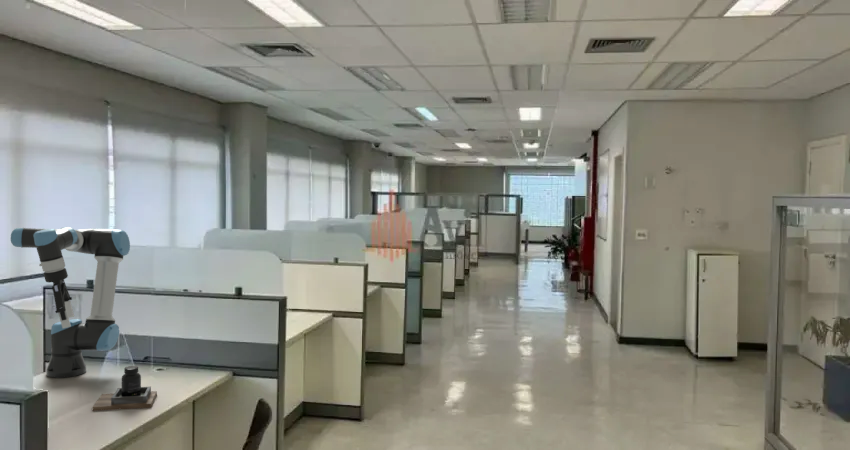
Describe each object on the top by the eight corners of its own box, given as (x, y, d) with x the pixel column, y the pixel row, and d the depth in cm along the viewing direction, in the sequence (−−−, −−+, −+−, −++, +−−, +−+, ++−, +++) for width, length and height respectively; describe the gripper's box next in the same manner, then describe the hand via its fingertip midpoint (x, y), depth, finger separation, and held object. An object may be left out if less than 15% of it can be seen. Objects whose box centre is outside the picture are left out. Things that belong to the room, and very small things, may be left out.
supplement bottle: (118, 397, 239) (118, 366, 239) (136, 393, 244) (137, 363, 243) (125, 402, 234) (125, 370, 234) (143, 398, 239) (144, 367, 239)
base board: (101, 397, 243) (101, 387, 243) (156, 394, 249) (156, 385, 248) (92, 410, 229) (92, 400, 229) (150, 407, 234) (151, 397, 234)
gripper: (47, 265, 244) (61, 315, 249) (38, 279, 222) (53, 334, 226) (68, 260, 247) (82, 310, 252) (61, 274, 225) (76, 329, 229)
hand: (68, 322), depth 239 cm, fingers open, 13 cm apart
